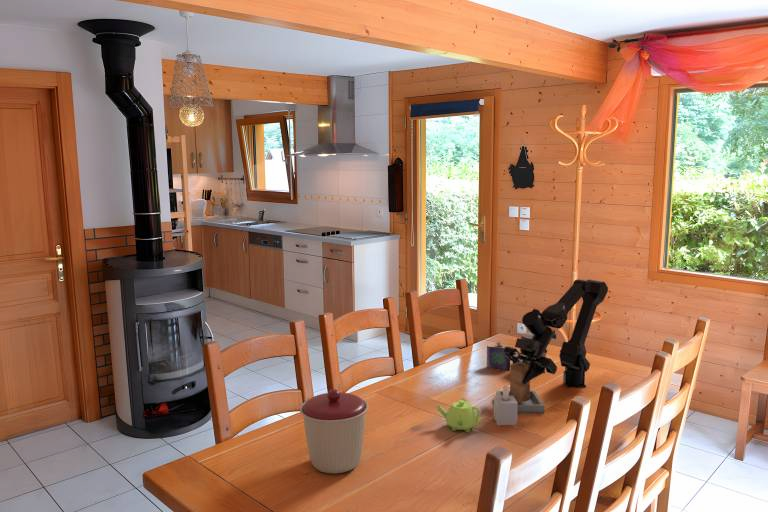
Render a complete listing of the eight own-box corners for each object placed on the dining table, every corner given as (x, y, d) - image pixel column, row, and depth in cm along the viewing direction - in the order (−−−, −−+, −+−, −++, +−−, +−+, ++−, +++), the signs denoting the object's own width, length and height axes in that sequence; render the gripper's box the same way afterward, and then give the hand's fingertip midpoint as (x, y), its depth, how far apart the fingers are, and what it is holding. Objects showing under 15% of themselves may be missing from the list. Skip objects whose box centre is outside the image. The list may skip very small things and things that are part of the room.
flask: (485, 368, 239) (486, 341, 238) (487, 365, 242) (488, 339, 240) (509, 371, 235) (509, 344, 234) (511, 369, 238) (511, 342, 236)
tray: (534, 397, 209) (534, 390, 209) (544, 413, 196) (544, 405, 196) (496, 398, 209) (496, 390, 209) (503, 414, 196) (503, 406, 196)
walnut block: (518, 395, 205) (519, 361, 204) (529, 399, 202) (530, 364, 200) (509, 399, 203) (510, 364, 201) (520, 403, 199) (521, 368, 197)
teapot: (487, 429, 185) (488, 403, 184) (458, 439, 179) (458, 411, 178) (463, 416, 195) (464, 391, 193) (435, 425, 189) (435, 399, 187)
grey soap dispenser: (512, 416, 194) (513, 383, 192) (517, 424, 188) (517, 390, 187) (493, 416, 194) (494, 383, 192) (497, 425, 188) (498, 390, 187)
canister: (334, 442, 178) (333, 373, 175) (383, 461, 167) (381, 387, 163) (287, 467, 164) (284, 392, 161) (336, 489, 153) (334, 409, 149)
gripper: (506, 323, 208) (484, 361, 203) (552, 334, 194) (529, 376, 189) (521, 340, 214) (499, 378, 209) (566, 353, 200) (544, 394, 195)
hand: (517, 381), depth 200 cm, fingers closed on walnut block, 4 cm apart
